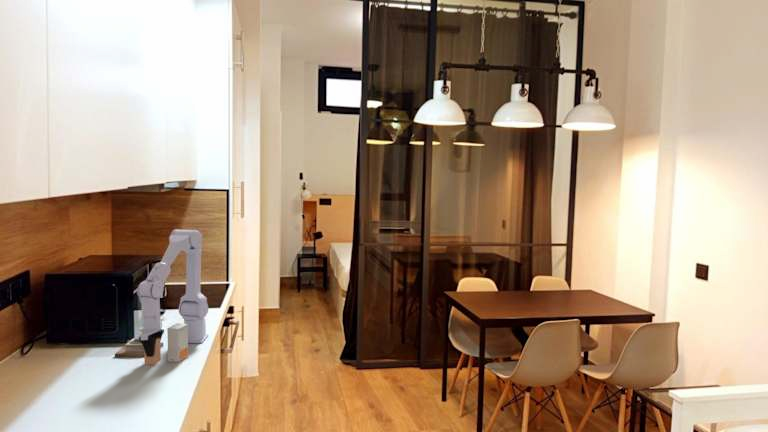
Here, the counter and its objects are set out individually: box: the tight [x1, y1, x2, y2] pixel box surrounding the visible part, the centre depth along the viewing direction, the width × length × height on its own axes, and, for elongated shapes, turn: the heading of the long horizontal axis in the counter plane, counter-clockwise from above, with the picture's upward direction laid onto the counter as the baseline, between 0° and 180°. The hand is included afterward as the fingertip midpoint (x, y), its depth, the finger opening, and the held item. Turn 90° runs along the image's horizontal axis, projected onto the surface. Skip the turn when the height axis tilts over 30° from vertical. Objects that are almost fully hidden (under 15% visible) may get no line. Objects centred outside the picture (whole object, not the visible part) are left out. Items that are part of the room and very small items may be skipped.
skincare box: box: [166, 322, 189, 363], centre depth 180 cm, size 6×4×12 cm
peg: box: [143, 338, 162, 365], centre depth 178 cm, size 4×4×8 cm
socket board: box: [114, 337, 164, 358], centre depth 188 cm, size 11×13×4 cm
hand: (152, 353), depth 178 cm, fingers open, 4 cm apart
